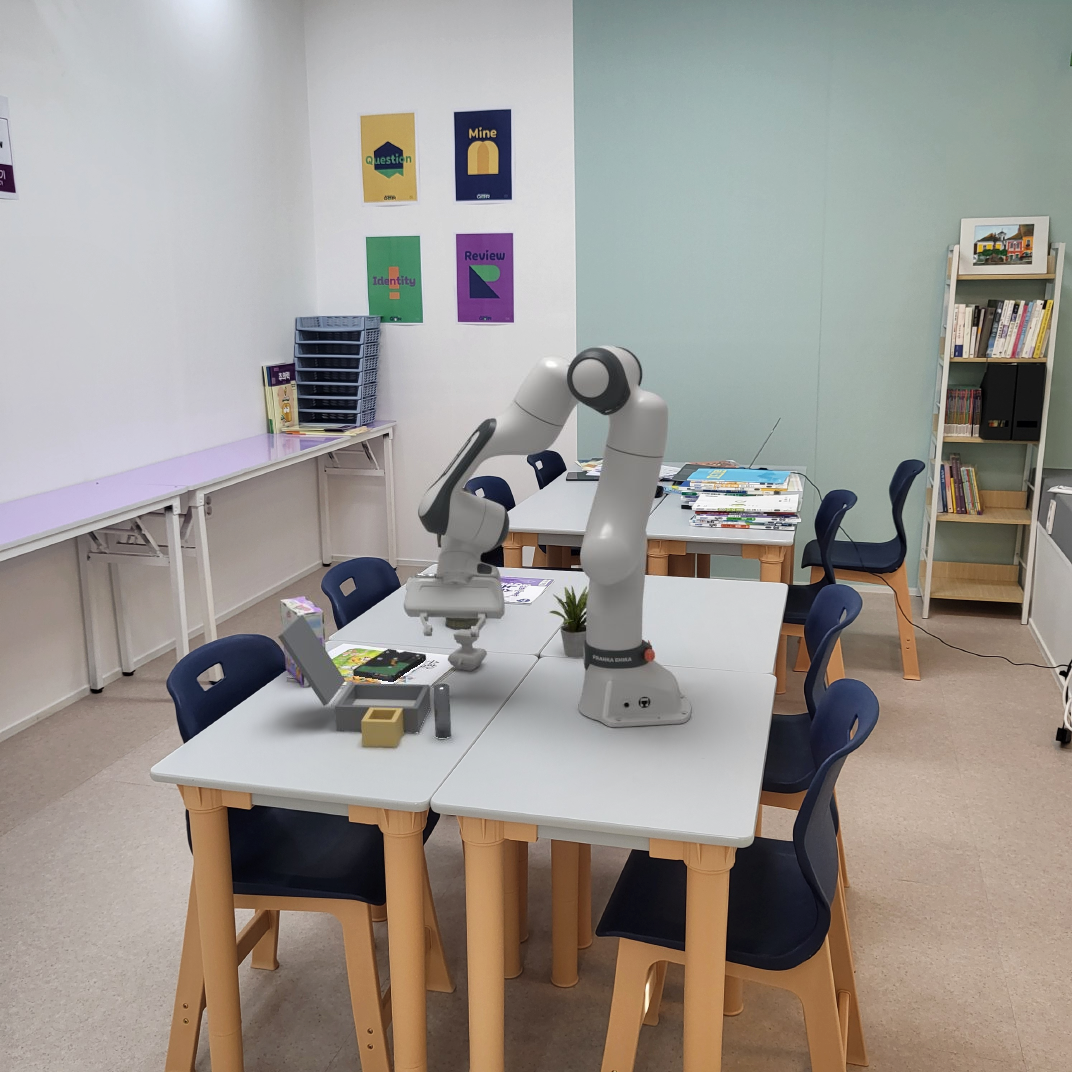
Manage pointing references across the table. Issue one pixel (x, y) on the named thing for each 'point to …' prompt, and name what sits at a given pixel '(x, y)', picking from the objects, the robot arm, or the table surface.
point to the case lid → (312, 659)
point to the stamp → (466, 652)
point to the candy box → (314, 618)
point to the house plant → (573, 623)
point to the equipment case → (381, 703)
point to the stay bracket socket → (382, 727)
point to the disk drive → (389, 665)
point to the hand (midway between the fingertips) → (451, 635)
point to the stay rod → (442, 710)
